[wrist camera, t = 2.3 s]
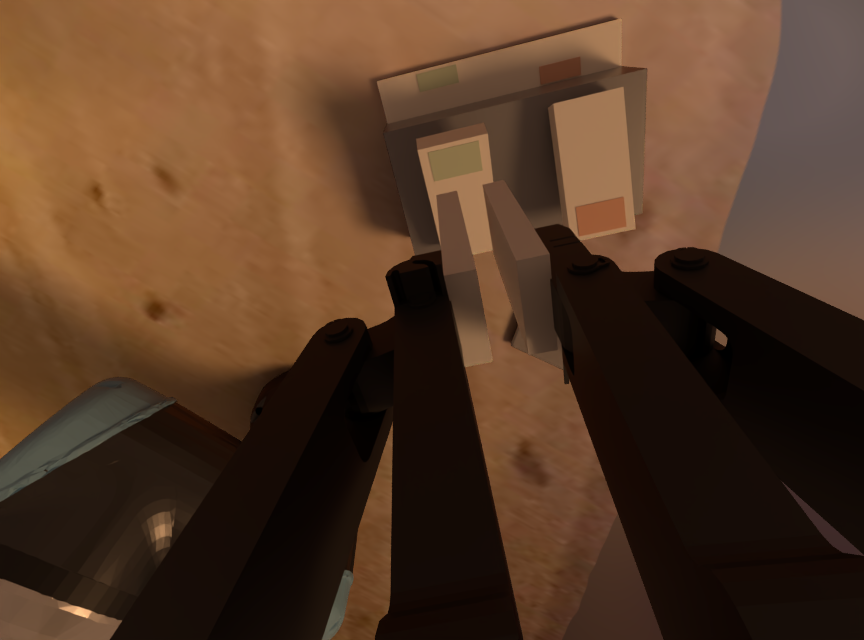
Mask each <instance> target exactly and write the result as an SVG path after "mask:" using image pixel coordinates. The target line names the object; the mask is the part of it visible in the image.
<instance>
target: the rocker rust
mask: <svg viewBox="0 0 864 640" xmlns="http://www.w3.org/2000/svg"><path fill="white" fill-rule="evenodd" d="M548 112H549V120H550V128H551V135H552V143H553V151H554V158H555V166H556V174H557V181H558V189H559V197H560V204H561V212H562V219H563V226H565V227H568V228H570V229H571V230H572V231H573V233H574V234H575V235H576V236H577V238H578V239H579V240H585V239H590V238H595V237H599V236H604V235H609V234H614V233H619V232H623V231H628V230H633V229H635V217H634V205H633V193H632V182H631V170H630V158H629V146H628V134H627V123H626V111H625V99H624V87H620V88H616V89H612V90H608V91H604V92H600V93H595V94H591V95H587V96H583V97H579V98H575V99H571V100H566V101H562V102H558V103H554V104H552V105H551V106H550V107H548Z"/></svg>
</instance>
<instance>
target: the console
mask: <svg viewBox="0 0 864 640" xmlns="http://www.w3.org/2000/svg"><path fill="white" fill-rule="evenodd" d="M621 56H622V18H621V19H616V20H612V21H608V22H605V23H601V24H597V25H593V26H589V27H585V28H581V29H577V30H573V31H570V32H566V33H562V34H558V35H554V36H550V37H546V38H542V39H538V40H535V41H531V42H527V43H523V44H519V45H515V46H511V47H507V48H503V49H500V50H496V51H492V52H488V53H484V54H480V55H476V56H472V57H468V58H465V59H461V60H457V61H453V62H449V63H445V64H441V65H437V66H433V67H430V68H426V69H422V70H418V71H414V72H410V73H406V74H402V75H399V76H395V77H391V78H387V79H383V80H379V81H377V85H378V89H379V92H380V96H381V100H382V104H383V108H384V112H385V116H386V120H387V126H386V128H385V130H384V132H383V134H384V138H385V142H386V146H387V150H388V153H389V157H390V161H391V165H392V169H393V173H394V176H395V180H396V184H397V188H398V192H399V195H400V199H401V203H402V207H403V211H404V215H405V218H406V222H407V226H408V230H409V234H410V237H411V241H412V245H413V249H414V253H415V255H420V254H425V253H429V252H434V251H439V250H441V245H440V241H439V237H438V233H437V229H436V225H435V221H434V216H433V212H432V208H431V204H430V200H429V196H428V192H427V188H426V183H425V179H424V175H423V171H422V167H421V163H420V159H419V155H418V150H417V142H416V139H418V138H422V137H426V136H430V135H434V134H438V133H443V132H447V131H451V130H455V129H459V128H463V127H467V126H472V125H476V124H480V123H484V125H485V128H486V130H487V133H488V140H489V149H490V157H491V166H492V175H493V182H496V181H501V180H504V181H505V183H506V184H507V186H508V188H509V189H510V191H511V192H512V194H513V196H514V197H515V199H516V200H517V202H518V204H519V205H520V207H521V208H522V210H523V212H524V213H525V215H526V216H527V218H528V220H529V221H530V223H531V225H532V226H533V228H534V229H535V228H540V227H544V226H549V225H554V224H560V225H563V219H562V212H561V204H560V197H559V189H558V181H557V174H556V166H555V158H554V151H553V143H552V135H551V128H550V120H549V112H548V107H550V106H551V105H552V104H554V103H558V102H562V101H566V100H571V99H575V98H579V97H583V96H587V95H591V94H595V93H600V92H604V91H608V90H612V89H616V88H620V87H624V99H625V111H626V123H627V134H628V146H629V158H630V170H631V182H632V193H633V205H634V215H638V214H642V212H643V182H644V152H645V122H646V92H647V68H637V67H625V66H621Z"/></svg>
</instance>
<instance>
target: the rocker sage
mask: <svg viewBox="0 0 864 640" xmlns="http://www.w3.org/2000/svg"><path fill="white" fill-rule="evenodd" d="M416 142H417V150H418V155H419V159H420V163H421V167H422V171H423V175H424V179H425V183H426V188H427V192H428V196H429V200H430V204H431V208H432V212H433V216H434V221H435V225H436V229H437V233H438V237H439V241H440V231H439V220H438V210H437V199H436V195H439V194H444V193H448V192H452V191H457V193H458V197H459V201H460V205H461V209H462V213H463V218H464V222H465V226H466V230H467V234H468V238H469V242H470V246H471V251H472V255H474V254H479V253H484V252H488V251H493V247H492V241H491V235H490V229H489V222H488V216H487V210H486V203H485V197H484V191H483V184H488V183H492V182H493V175H492V166H491V157H490V149H489V140H488V133H487V130H486V128H485V125H484V123H480V124H476V125H472V126H467V127H463V128H459V129H455V130H451V131H447V132H443V133H438V134H434V135H430V136H426V137H422V138H418V139H416ZM440 245H441V242H440Z"/></svg>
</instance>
